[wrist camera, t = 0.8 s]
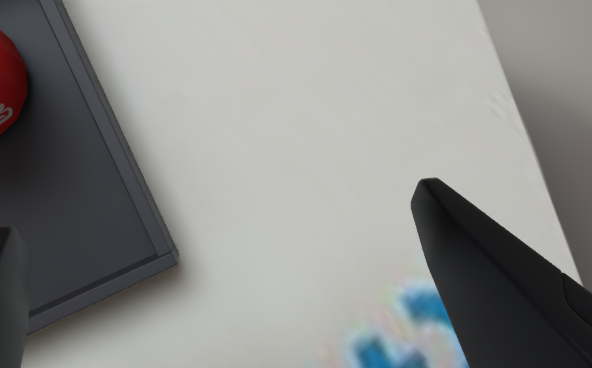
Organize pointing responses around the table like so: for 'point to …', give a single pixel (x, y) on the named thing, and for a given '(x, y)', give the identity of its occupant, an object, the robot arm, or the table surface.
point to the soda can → (11, 82)
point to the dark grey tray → (72, 175)
